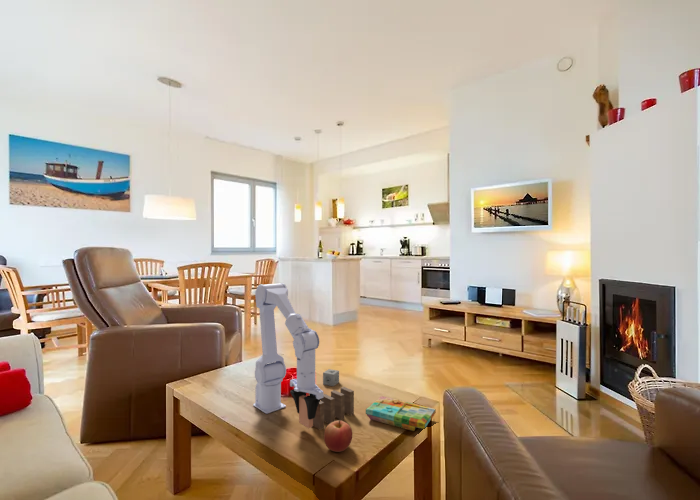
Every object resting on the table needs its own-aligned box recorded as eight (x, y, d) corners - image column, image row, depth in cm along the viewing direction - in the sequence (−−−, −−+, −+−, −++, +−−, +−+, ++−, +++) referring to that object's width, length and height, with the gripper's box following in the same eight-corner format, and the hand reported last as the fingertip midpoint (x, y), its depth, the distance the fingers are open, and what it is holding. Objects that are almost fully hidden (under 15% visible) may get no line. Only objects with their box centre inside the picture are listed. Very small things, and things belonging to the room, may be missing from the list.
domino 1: (308, 428, 103) (308, 401, 103) (299, 422, 107) (299, 396, 107) (312, 426, 104) (313, 400, 104) (303, 420, 108) (303, 395, 108)
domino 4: (340, 420, 113) (340, 395, 113) (330, 415, 116) (330, 391, 116) (344, 418, 114) (344, 394, 114) (334, 413, 117) (334, 390, 117)
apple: (355, 442, 99) (355, 415, 99) (348, 458, 91) (348, 428, 91) (329, 439, 101) (329, 412, 101) (320, 454, 93) (320, 425, 93)
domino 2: (320, 429, 106) (320, 404, 106) (310, 424, 110) (310, 399, 110) (324, 428, 108) (324, 402, 108) (314, 422, 111) (314, 397, 111)
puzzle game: (380, 394, 123) (435, 406, 113) (380, 407, 123) (435, 420, 113) (365, 406, 113) (424, 421, 103) (365, 421, 113) (425, 437, 103)
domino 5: (350, 415, 116) (350, 392, 116) (340, 410, 119) (340, 387, 119) (353, 414, 117) (353, 390, 117) (343, 409, 120) (343, 386, 120)
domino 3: (330, 424, 109) (330, 399, 110) (320, 419, 113) (320, 395, 113) (334, 423, 111) (334, 398, 111) (324, 417, 114) (324, 393, 114)
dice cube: (333, 386, 141) (333, 374, 141) (323, 384, 143) (323, 372, 143) (339, 382, 146) (339, 370, 146) (328, 380, 148) (328, 369, 148)
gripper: (282, 368, 108) (281, 411, 108) (310, 380, 98) (310, 428, 98) (300, 363, 113) (300, 404, 113) (328, 374, 103) (328, 420, 103)
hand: (306, 415), depth 106 cm, fingers closed on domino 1, 5 cm apart
